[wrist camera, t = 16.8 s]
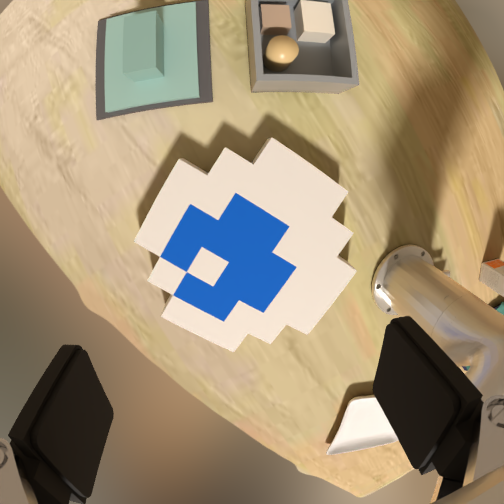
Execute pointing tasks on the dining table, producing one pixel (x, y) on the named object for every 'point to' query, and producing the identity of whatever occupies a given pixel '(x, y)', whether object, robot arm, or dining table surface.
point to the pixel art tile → (247, 245)
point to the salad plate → (362, 427)
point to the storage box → (301, 46)
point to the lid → (151, 57)
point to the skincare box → (493, 275)
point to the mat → (205, 97)
